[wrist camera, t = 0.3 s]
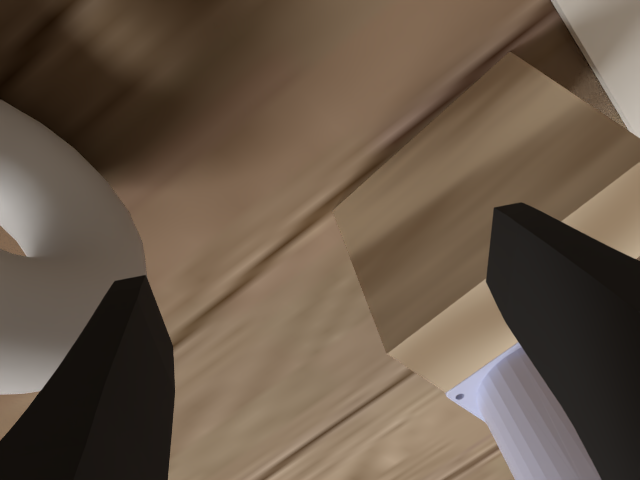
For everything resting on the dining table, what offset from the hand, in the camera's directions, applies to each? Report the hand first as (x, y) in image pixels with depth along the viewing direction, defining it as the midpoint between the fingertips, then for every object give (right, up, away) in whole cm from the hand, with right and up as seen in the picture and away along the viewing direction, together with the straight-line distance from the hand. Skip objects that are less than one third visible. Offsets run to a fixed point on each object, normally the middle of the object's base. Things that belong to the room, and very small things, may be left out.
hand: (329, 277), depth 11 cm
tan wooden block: (+5, +4, +11) cm, 13 cm away
